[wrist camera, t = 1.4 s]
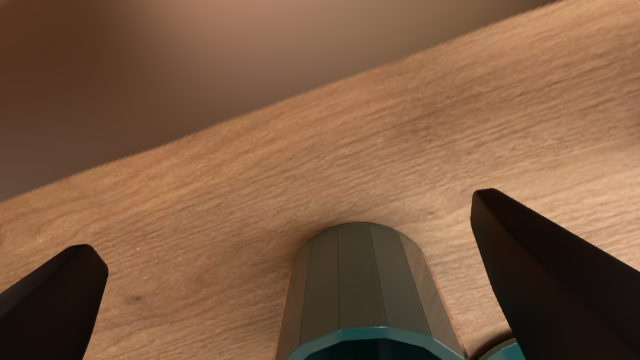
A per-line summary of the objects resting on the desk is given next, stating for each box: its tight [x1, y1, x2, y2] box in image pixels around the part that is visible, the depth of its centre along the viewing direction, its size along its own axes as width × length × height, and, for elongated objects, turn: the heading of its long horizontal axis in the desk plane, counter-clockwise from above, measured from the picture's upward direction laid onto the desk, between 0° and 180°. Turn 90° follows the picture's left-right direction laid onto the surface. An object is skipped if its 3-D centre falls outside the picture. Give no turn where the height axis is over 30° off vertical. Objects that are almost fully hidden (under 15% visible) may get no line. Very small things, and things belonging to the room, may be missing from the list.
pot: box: [272, 222, 470, 360], centre depth 22 cm, size 10×10×10 cm
